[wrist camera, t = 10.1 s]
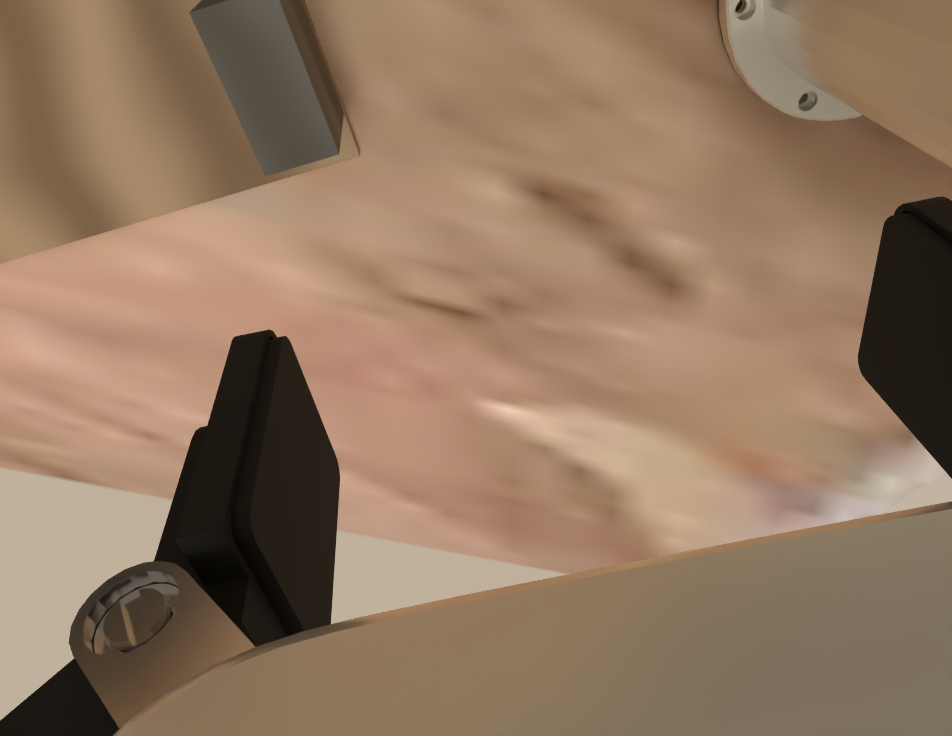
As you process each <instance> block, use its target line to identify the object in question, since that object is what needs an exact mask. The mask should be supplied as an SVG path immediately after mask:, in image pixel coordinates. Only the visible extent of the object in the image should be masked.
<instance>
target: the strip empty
mask: <svg viewBox="0 0 952 736" xmlns="http://www.w3.org/2000/svg"><path fill="white" fill-rule="evenodd" d="M357 156H360V150H359V148H358V145H357V142H356V140H355V137H354V134H353V132H352V129H351V126H350V124H349V121H348V118H347V115H346V113H345V110H344V107H343V105H342V102H341V99H340V97H339V94H338V91H337V88H336V86H335V83H334V80H333V78H332V75H331V72H330V70H329V67H328V64H327V61H326V59H325V56H324V53H323V51H322V48H321V45H320V43H319V40H318V37H317V35H316V32H315V29H314V26H313V24H312V21H311V18H310V16H309V13H308V10H307V8H306V5H305V2H304V0H0V263H4V262H7V261H10V260H14V259H17V258H20V257H24V256H27V255H30V254H34V253H37V252H40V251H44V250H47V249H50V248H54V247H57V246H60V245H64V244H67V243H70V242H74V241H77V240H80V239H84V238H87V237H90V236H94V235H97V234H100V233H104V232H107V231H110V230H114V229H117V228H120V227H124V226H127V225H130V224H134V223H137V222H140V221H144V220H147V219H150V218H154V217H157V216H160V215H164V214H167V213H170V212H174V211H177V210H180V209H184V208H187V207H190V206H194V205H197V204H200V203H204V202H207V201H210V200H214V199H217V198H220V197H224V196H227V195H230V194H234V193H237V192H240V191H244V190H247V189H250V188H254V187H257V186H261V185H264V184H267V183H271V182H274V181H277V180H281V179H284V178H287V177H291V176H294V175H297V174H301V173H304V172H307V171H311V170H314V169H317V168H321V167H324V166H327V165H331V164H334V163H337V162H341V161H344V160H347V159H351V158H354V157H357Z"/></svg>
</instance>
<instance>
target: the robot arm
mask: <svg viewBox="0 0 952 736" xmlns="http://www.w3.org/2000/svg"><path fill="white" fill-rule="evenodd" d="M739 1H740V0H719V20H720V25H721V31H722V36H723V41H724V45H725V48H726V50H727V53H728V55H729V57H730V60H731V62H732V65H733V67H734V69H735V70H736V72H737V73H738V74H739V76H740V77H741V78H742V80H743V81H744V83H745V84H746V85H747V87H748V88H750V89H751V90H752V91H753V92H754V93H756V94H757V95H758V96H759V97H760V98H761V99H763V100H764V101H765V102H767V103H768V104H770V105H772V106H773V107H775V108H776V109H778V110H780V111H781V112H783V113H786V114H789V115H791V116H794V117H797V118H800V119H805V120H815V121H825V122H829V121H838V120H848V119H854V118H857V117H861V116H865V117H867V118H869V119H870V120H872V121H874V122H875V123H877V124H879V125H880V126H882V127H884V128H885V129H887V130H889V131H890V132H892V133H894V134H895V135H897V136H899V137H900V138H902V139H904V140H905V141H907V142H909V143H910V144H912V145H914V146H915V147H917V148H919V149H920V150H922V151H924V152H925V153H927V154H929V155H930V156H932V157H934V158H936V159H937V160H939V161H941V162H942V163H944V164H946V165H947V166H949V167H951V168H952V0H742V6H741V7H740V9H739V10H737V11H735V9H736V5H737V4H738V2H739ZM802 95H803V97H802ZM801 97H802V98H801ZM800 98H801V99H800ZM799 99H800V100H799ZM858 364H859V368H860V371H861V373H862V375H863V377H864V378H865V379H866V381H867V382H868V383H869V384H870V385H871V386H872V387H873V389H874V390H875V391H876V392H877V393H878V394H879V395H880V397H881V398H882V399H883V400H884V401H885V402H886V404H887V405H888V406H889V407H890V408H891V409H892V410H893V412H894V413H895V414H896V415H897V416H898V417H899V418H900V420H901V421H902V422H903V423H904V424H905V425H906V427H907V428H908V429H909V430H910V431H911V432H912V433H913V435H914V436H915V437H916V438H917V439H918V440H919V441H920V443H921V444H922V445H923V446H924V447H925V448H926V449H927V451H928V452H929V453H930V454H931V455H932V456H933V458H934V459H935V460H936V461H937V462H938V463H939V464H940V466H941V467H942V468H943V469H944V470H945V471H946V472H947V474H948V475H949V476H950V477H951V478H952V201H951V200H950V199H948V198H945V197H936V198H931V199H926V200H921V201H916V202H911V203H906V204H902V205H901V206H899V207H898V208H897V210H896V211H895V213H894V215H893V216H890V217H889V218H887V220H886V221H885V223H884V226H883V231H882V236H881V241H880V246H879V251H878V256H877V262H876V267H875V272H874V277H873V282H872V287H871V292H870V297H869V302H868V307H867V312H866V317H865V322H864V328H863V333H862V338H861V343H860V348H859V353H858ZM339 486H340V473H339V466H338V462H337V458H336V455H335V453H334V450H333V448H332V445H331V443H330V440H329V438H328V435H327V433H326V430H325V428H324V425H323V423H322V420H321V418H320V415H319V413H318V410H317V408H316V405H315V403H314V400H313V398H312V395H311V393H310V390H309V388H308V385H307V382H306V380H305V377H304V375H303V372H302V370H301V367H300V365H299V362H298V360H297V357H296V355H295V352H294V350H293V347H292V345H291V343H290V341H289V339H288V338H287V337H286V336H283V337H278V338H277V337H276V335H275V333H274V332H273V331H272V330H265V331H260V332H255V333H250V334H245V335H240V336H236V337H234V338H233V340H232V343H231V346H230V350H229V353H228V357H227V360H226V363H225V367H224V370H223V374H222V377H221V381H220V384H219V388H218V391H217V395H216V398H215V401H214V405H213V408H212V412H211V415H210V419H209V422H208V426H205V427H200V428H199V429H198V430H196V431H195V433H194V435H193V437H192V440H191V443H190V446H189V450H188V453H187V456H186V459H185V463H184V466H183V469H182V472H181V475H180V479H179V482H178V485H177V488H176V492H175V495H174V498H173V501H172V505H171V508H170V511H169V514H168V518H167V521H166V524H165V527H164V530H163V534H162V537H161V540H160V543H159V547H158V550H157V553H156V556H155V560H154V562H146V563H142V564H139V565H136V566H133V567H130V568H128V569H125V570H123V571H122V572H120V573H118V574H117V575H115V576H113V577H112V578H110V579H108V580H107V581H106V582H105V583H103V584H102V585H101V586H100V587H99V588H98V589H97V590H95V591H94V592H93V593H92V594H91V595H90V596H89V598H88V599H87V600H86V602H85V603H84V604H83V605H82V607H81V608H80V609H79V611H78V613H77V615H76V617H75V619H74V621H73V624H72V626H71V631H70V638H69V644H70V647H71V651H72V654H73V656H74V659H73V660H72V661H71V662H70V663H68V664H67V665H66V666H65V667H64V668H62V669H61V670H60V671H59V672H58V673H56V674H55V675H54V676H53V677H52V678H51V679H49V680H48V681H47V682H46V683H45V684H43V685H42V686H41V687H40V688H39V689H37V690H36V691H35V692H34V693H33V694H32V695H30V696H29V697H28V698H27V699H26V700H24V701H23V702H22V703H21V704H20V705H18V706H17V707H16V708H15V709H14V710H12V711H11V712H10V713H9V714H8V715H7V716H5V717H4V718H3V719H2V720H1V721H0V736H952V502H947V503H941V504H936V505H930V506H925V507H919V508H914V509H909V510H903V511H898V512H893V513H887V514H882V515H876V516H871V517H865V518H860V519H855V520H849V521H844V522H839V523H834V524H828V525H823V526H818V527H813V528H807V529H802V530H797V531H792V532H786V533H781V534H776V535H770V536H765V537H760V538H755V539H749V540H744V541H739V542H734V543H729V544H723V545H718V546H713V547H708V548H703V549H697V550H692V551H687V552H682V553H676V554H671V555H666V556H661V557H656V558H650V559H645V560H640V561H635V562H630V563H625V564H620V565H615V566H609V567H604V568H599V569H594V570H589V571H584V572H579V573H574V574H569V575H564V576H559V577H554V578H549V579H543V580H538V581H533V582H528V583H524V584H518V585H513V586H508V587H503V588H498V589H493V590H487V591H482V592H477V593H472V594H467V595H463V596H458V597H453V598H449V599H444V600H439V601H434V602H429V603H425V604H420V605H415V606H411V607H406V608H401V609H396V610H392V611H387V612H382V613H378V614H373V615H369V616H364V617H359V618H355V619H351V620H347V621H343V622H339V623H335V624H331V610H332V595H333V579H334V564H335V548H336V533H337V517H338V501H339Z"/></svg>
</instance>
